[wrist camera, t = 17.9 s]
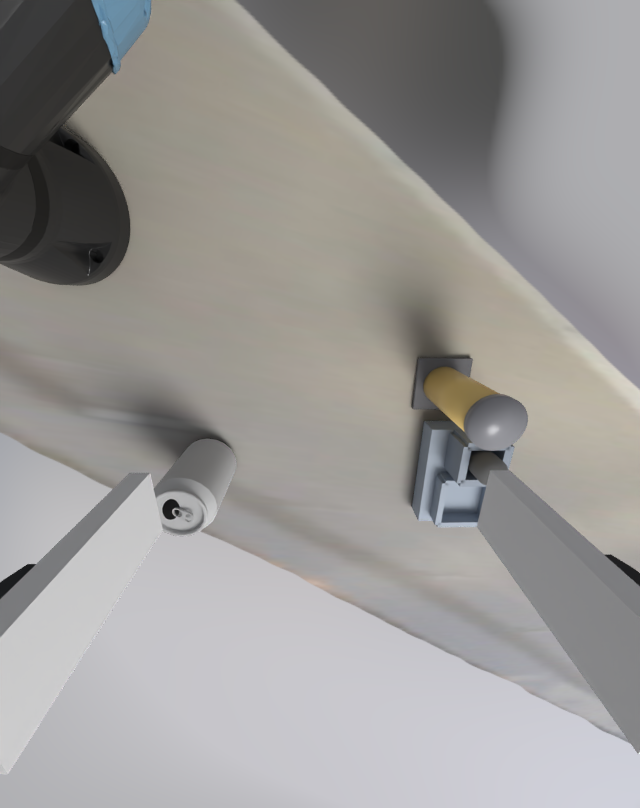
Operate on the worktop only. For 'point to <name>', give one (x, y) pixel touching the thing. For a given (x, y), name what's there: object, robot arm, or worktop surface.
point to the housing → (449, 477)
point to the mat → (429, 365)
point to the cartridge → (476, 408)
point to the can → (195, 487)
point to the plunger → (484, 464)
